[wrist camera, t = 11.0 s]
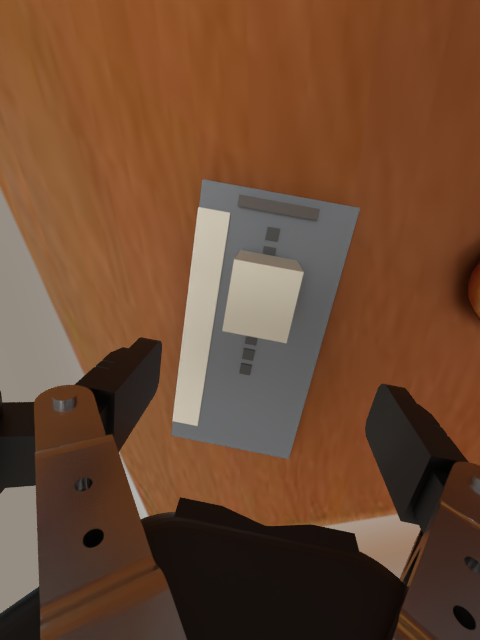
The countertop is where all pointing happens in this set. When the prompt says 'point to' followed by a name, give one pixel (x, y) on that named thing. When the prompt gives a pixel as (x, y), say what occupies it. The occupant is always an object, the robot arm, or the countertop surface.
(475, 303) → the fruit
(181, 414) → the board
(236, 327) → the tab
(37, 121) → the countertop surface
